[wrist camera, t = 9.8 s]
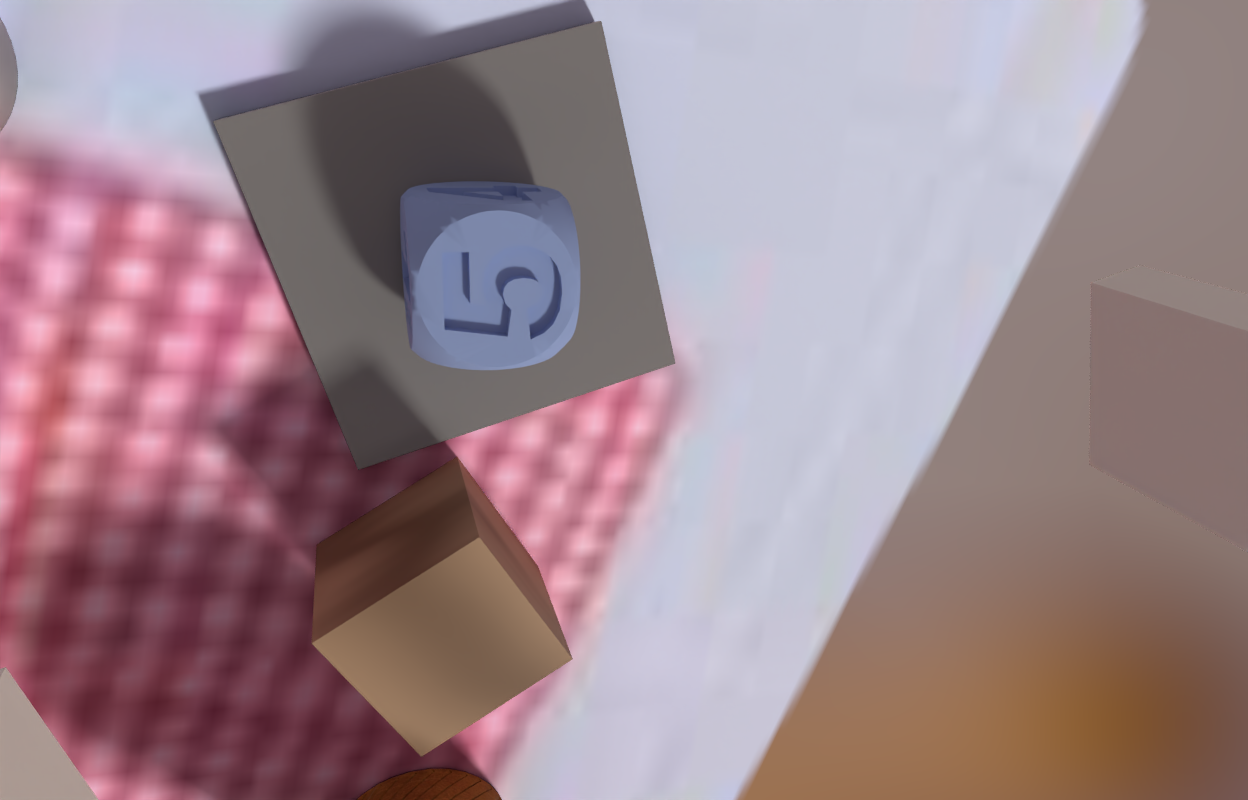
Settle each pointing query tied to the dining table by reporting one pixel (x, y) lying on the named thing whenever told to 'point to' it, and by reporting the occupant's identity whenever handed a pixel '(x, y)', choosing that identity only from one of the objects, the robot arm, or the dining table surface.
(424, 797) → the disposable coffee cup
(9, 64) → the grey plastic cylinder
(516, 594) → the walnut cube
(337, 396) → the slate coaster
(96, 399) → the dining table surface
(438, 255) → the decorative dice
